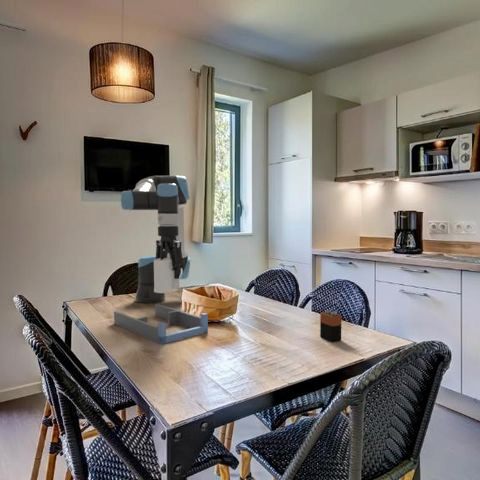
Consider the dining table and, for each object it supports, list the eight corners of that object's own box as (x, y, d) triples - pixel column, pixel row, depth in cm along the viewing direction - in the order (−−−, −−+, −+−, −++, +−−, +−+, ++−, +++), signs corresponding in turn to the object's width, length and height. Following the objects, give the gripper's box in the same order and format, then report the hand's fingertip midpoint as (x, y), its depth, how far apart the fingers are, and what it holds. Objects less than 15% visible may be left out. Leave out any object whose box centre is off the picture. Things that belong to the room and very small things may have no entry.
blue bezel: (205, 331, 150) (204, 312, 149) (207, 332, 148) (207, 313, 148) (158, 343, 136) (157, 323, 135) (161, 344, 135) (160, 324, 134)
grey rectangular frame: (157, 314, 175) (157, 303, 174) (205, 331, 150) (204, 318, 149) (114, 323, 161) (114, 311, 160) (158, 343, 136) (158, 328, 136)
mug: (178, 287, 155) (177, 256, 154) (188, 290, 148) (188, 258, 147) (150, 290, 148) (149, 259, 147) (159, 294, 141) (158, 260, 140)
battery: (332, 342, 136) (332, 314, 135) (319, 337, 142) (319, 309, 141) (341, 340, 138) (342, 312, 137) (329, 335, 144) (329, 308, 143)
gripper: (145, 225, 152) (146, 283, 153) (175, 226, 136) (176, 291, 138) (161, 224, 157) (162, 281, 158) (192, 225, 141) (193, 288, 143)
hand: (169, 285), depth 148 cm, fingers closed on mug, 8 cm apart
